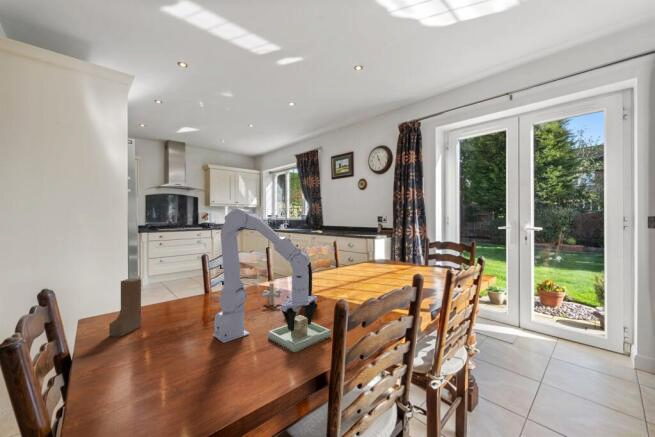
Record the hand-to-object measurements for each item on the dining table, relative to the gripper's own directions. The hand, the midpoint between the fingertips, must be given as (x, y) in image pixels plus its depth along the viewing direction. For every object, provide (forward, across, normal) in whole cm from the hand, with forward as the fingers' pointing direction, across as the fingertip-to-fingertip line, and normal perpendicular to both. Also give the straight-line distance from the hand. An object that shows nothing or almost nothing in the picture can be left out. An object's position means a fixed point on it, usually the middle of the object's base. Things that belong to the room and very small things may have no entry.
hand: (299, 326), depth 95 cm
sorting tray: (+4, 0, 0) cm, 4 cm away
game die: (+4, +11, +18) cm, 21 cm away
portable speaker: (+4, +25, +28) cm, 38 cm away
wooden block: (+4, -41, +47) cm, 62 cm away
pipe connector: (+4, +13, +36) cm, 38 cm away
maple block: (+3, 0, 0) cm, 3 cm away
